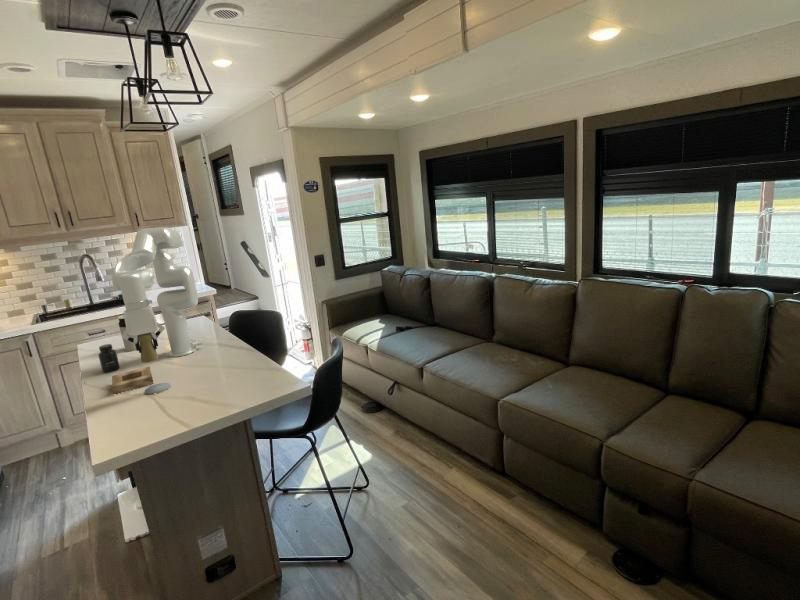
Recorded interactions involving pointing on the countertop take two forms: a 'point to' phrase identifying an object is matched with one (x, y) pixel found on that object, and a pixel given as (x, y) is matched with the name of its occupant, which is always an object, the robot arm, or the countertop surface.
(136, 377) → the socket ring
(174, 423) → the countertop surface
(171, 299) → the robot arm
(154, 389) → the coaster
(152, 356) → the cork
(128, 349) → the travel mug
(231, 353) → the countertop surface
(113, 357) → the supplement bottle
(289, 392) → the countertop surface
